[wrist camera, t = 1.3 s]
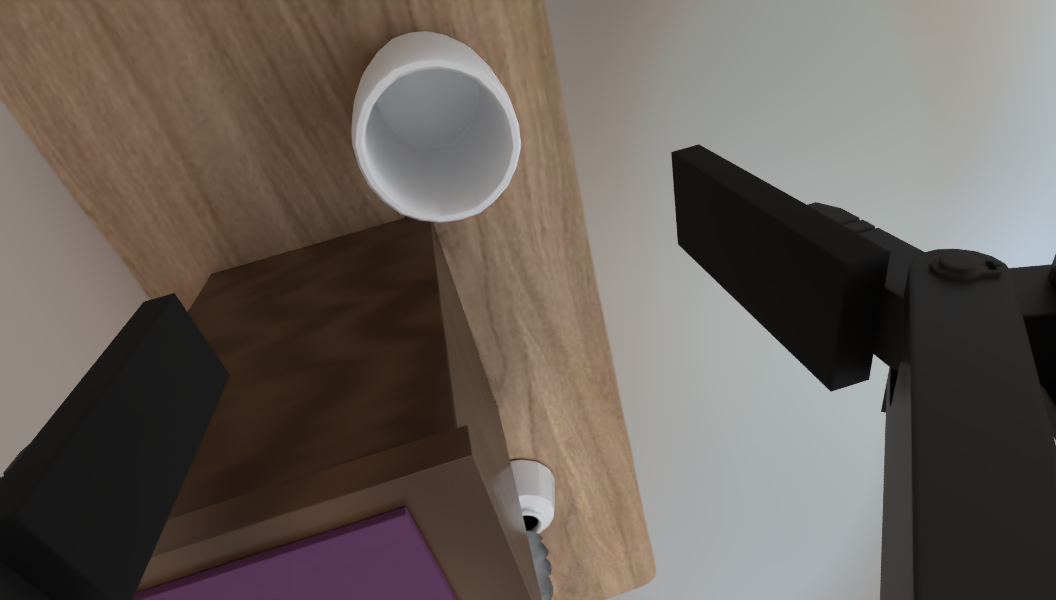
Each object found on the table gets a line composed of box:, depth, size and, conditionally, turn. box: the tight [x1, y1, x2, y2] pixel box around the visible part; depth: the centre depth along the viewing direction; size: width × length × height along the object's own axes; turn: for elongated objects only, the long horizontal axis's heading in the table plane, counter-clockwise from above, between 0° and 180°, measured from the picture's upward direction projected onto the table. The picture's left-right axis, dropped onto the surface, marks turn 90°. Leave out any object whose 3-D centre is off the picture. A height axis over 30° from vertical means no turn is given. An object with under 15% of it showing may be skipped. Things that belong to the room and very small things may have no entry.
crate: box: [136, 217, 542, 600], centre depth 36 cm, size 18×23×26 cm
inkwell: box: [510, 459, 555, 600], centre depth 58 cm, size 9×18×10 cm, turn 11°
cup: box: [351, 31, 521, 223], centre depth 31 cm, size 8×8×14 cm
